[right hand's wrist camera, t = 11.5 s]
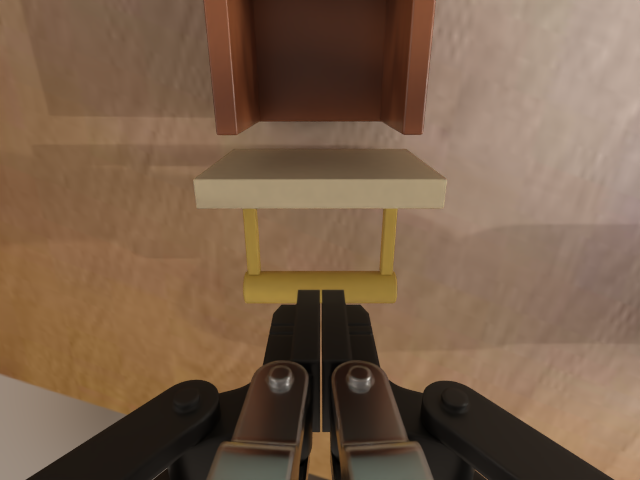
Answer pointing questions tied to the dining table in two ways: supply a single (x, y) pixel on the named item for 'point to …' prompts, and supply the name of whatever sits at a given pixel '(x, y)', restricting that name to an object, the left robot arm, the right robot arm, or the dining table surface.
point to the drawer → (319, 105)
